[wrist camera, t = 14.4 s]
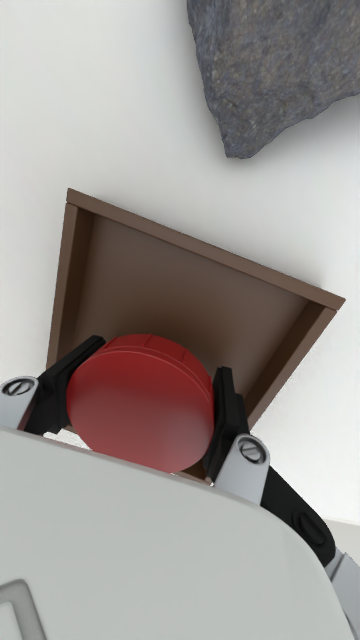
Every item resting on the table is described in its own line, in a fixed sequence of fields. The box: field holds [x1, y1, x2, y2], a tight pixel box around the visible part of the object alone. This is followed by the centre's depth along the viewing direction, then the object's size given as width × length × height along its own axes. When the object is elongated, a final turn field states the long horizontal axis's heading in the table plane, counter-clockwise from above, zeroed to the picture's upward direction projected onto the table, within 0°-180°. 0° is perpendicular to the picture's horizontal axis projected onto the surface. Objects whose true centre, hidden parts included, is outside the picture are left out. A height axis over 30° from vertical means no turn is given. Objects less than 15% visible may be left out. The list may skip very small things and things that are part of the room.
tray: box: [46, 188, 346, 486], centre depth 13 cm, size 15×13×2 cm
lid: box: [66, 333, 215, 473], centre depth 9 cm, size 7×7×2 cm
